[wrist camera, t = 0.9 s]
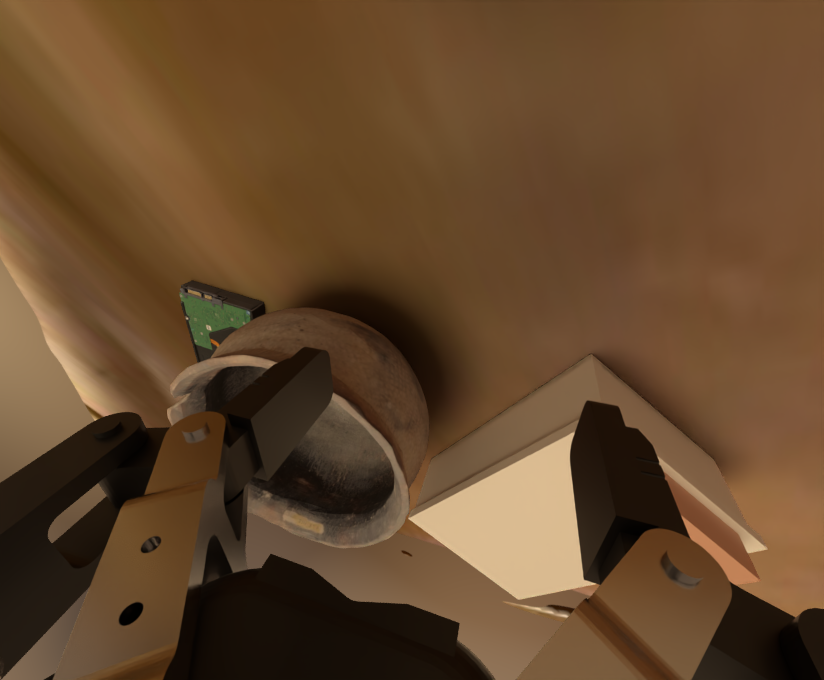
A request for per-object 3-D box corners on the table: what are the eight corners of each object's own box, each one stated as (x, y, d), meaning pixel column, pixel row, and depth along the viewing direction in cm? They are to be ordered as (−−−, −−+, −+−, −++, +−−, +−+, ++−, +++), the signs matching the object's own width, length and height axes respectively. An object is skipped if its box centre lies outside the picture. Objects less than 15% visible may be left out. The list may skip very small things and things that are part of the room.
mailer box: (591, 353, 30) (602, 406, 25) (714, 460, 32) (751, 531, 26) (431, 458, 44) (415, 507, 39) (522, 529, 46) (520, 585, 40)
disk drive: (280, 392, 48) (266, 299, 40) (267, 405, 46) (249, 309, 37) (217, 371, 50) (192, 277, 42) (202, 383, 48) (172, 287, 39)
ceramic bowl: (257, 263, 37) (118, 332, 25) (458, 291, 31) (406, 397, 19) (293, 414, 49) (211, 510, 37) (442, 453, 43) (404, 581, 31)
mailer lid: (605, 404, 24) (616, 450, 21) (760, 536, 26) (793, 597, 23) (411, 510, 39) (398, 547, 35) (518, 590, 40) (516, 632, 37)
